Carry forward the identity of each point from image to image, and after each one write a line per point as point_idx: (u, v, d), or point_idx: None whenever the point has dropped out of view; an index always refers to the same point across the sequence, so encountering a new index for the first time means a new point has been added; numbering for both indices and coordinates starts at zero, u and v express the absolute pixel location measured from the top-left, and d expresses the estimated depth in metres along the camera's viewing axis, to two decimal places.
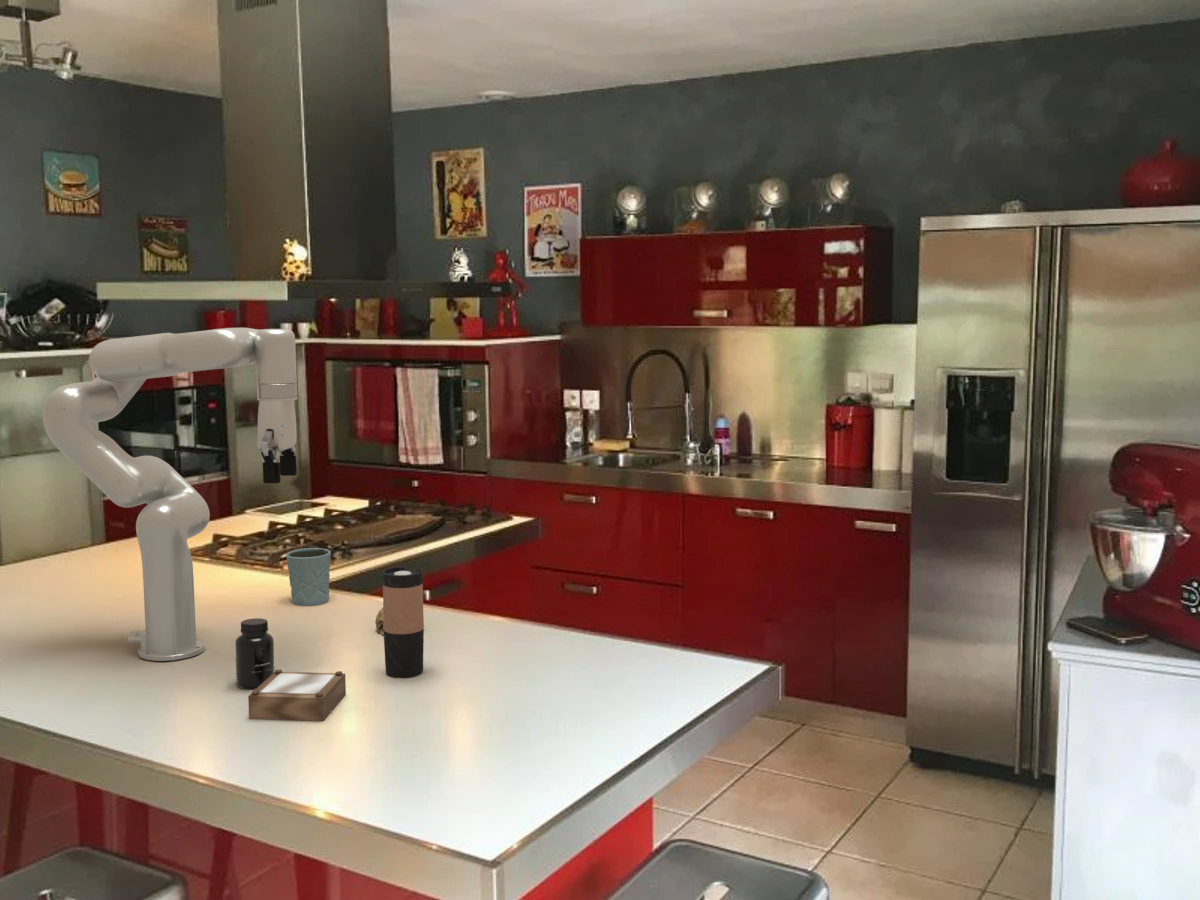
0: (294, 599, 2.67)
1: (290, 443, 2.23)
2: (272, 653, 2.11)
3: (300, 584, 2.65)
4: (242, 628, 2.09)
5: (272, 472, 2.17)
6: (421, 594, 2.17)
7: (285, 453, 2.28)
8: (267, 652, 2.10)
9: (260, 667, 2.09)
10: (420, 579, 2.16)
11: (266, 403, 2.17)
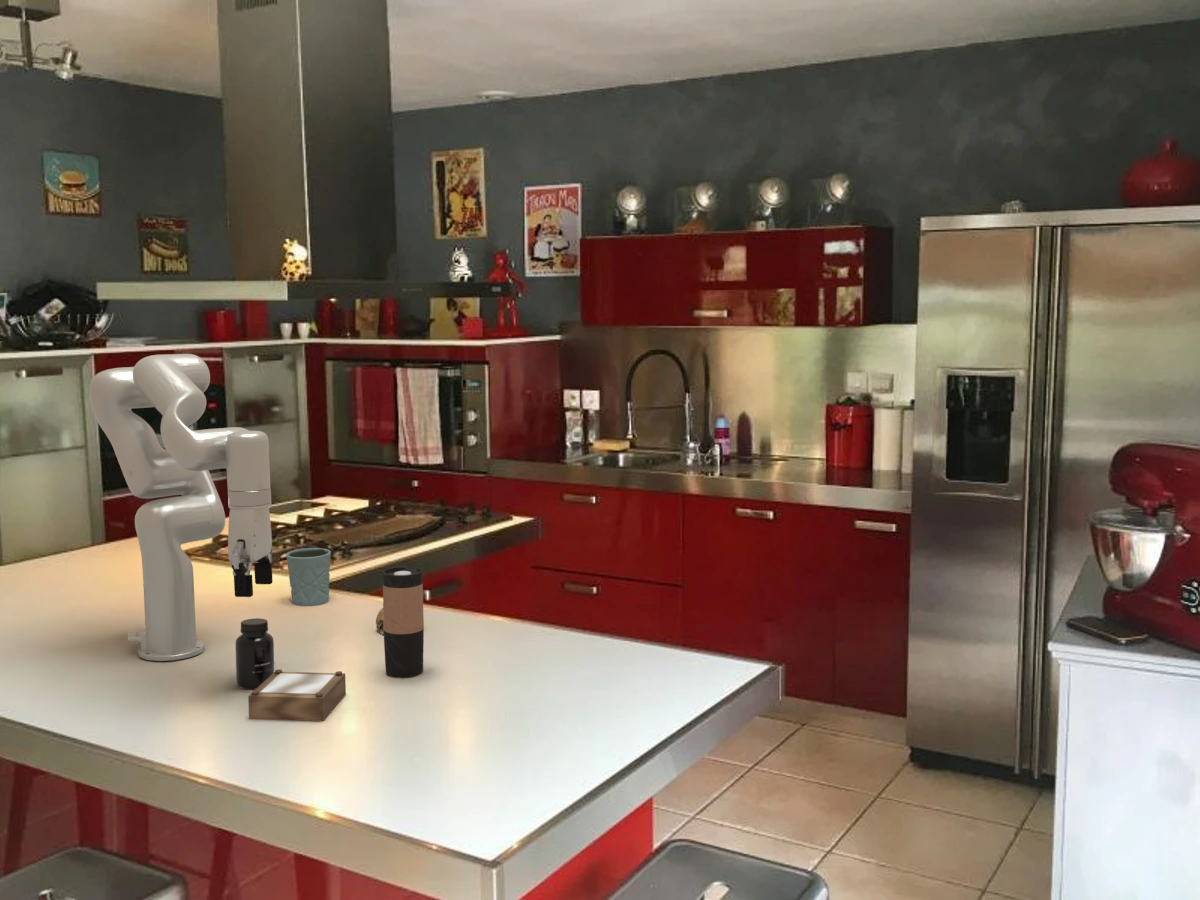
0: (294, 599, 2.67)
1: (264, 552, 2.09)
2: (272, 653, 2.11)
3: (300, 584, 2.65)
4: (242, 628, 2.09)
5: (244, 585, 2.04)
6: (421, 594, 2.17)
7: (260, 560, 2.14)
8: (267, 652, 2.10)
9: (260, 667, 2.09)
10: (420, 579, 2.16)
11: (237, 512, 2.03)
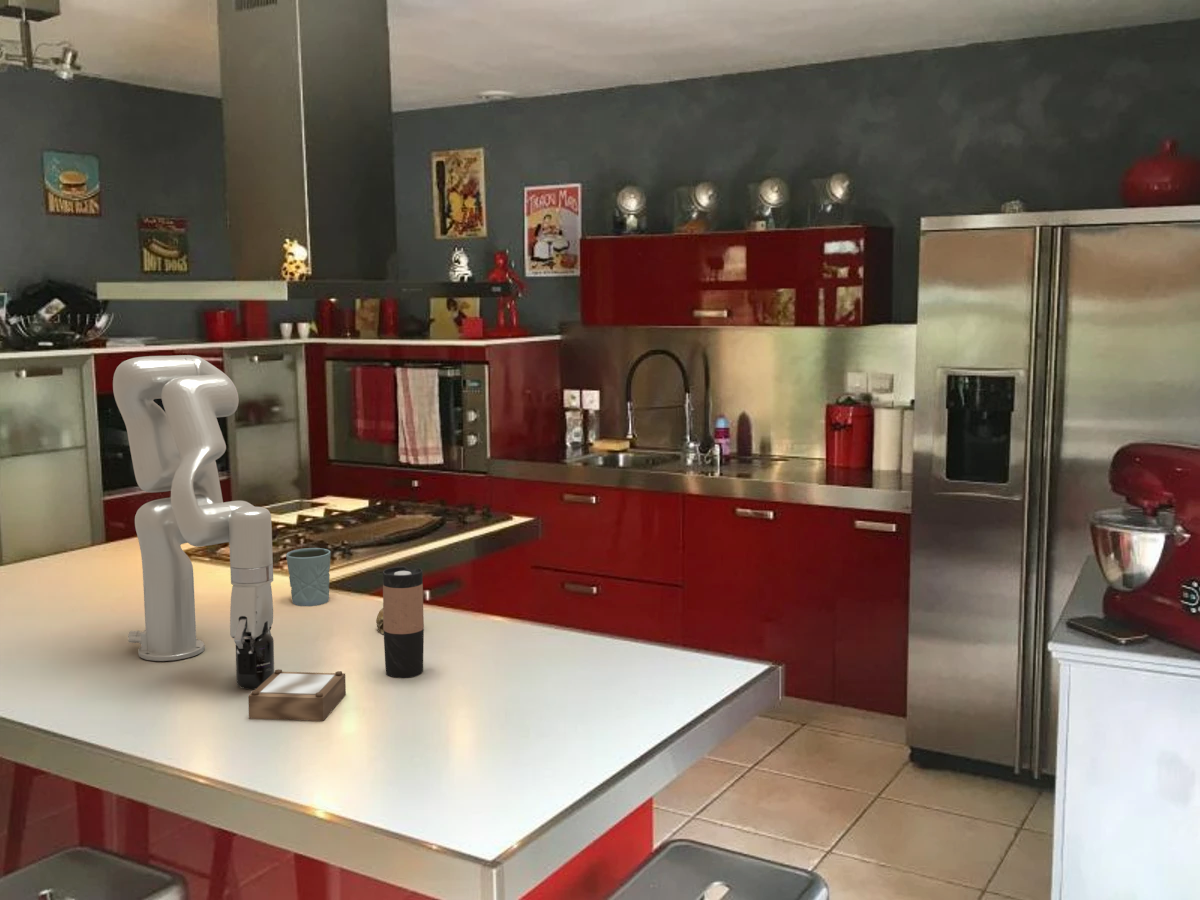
0: (294, 599, 2.67)
1: None
2: (272, 653, 2.11)
3: (300, 584, 2.65)
4: None
5: (247, 664, 2.07)
6: (421, 594, 2.17)
7: None
8: (267, 652, 2.10)
9: (260, 667, 2.09)
10: (420, 579, 2.16)
11: (239, 589, 2.05)
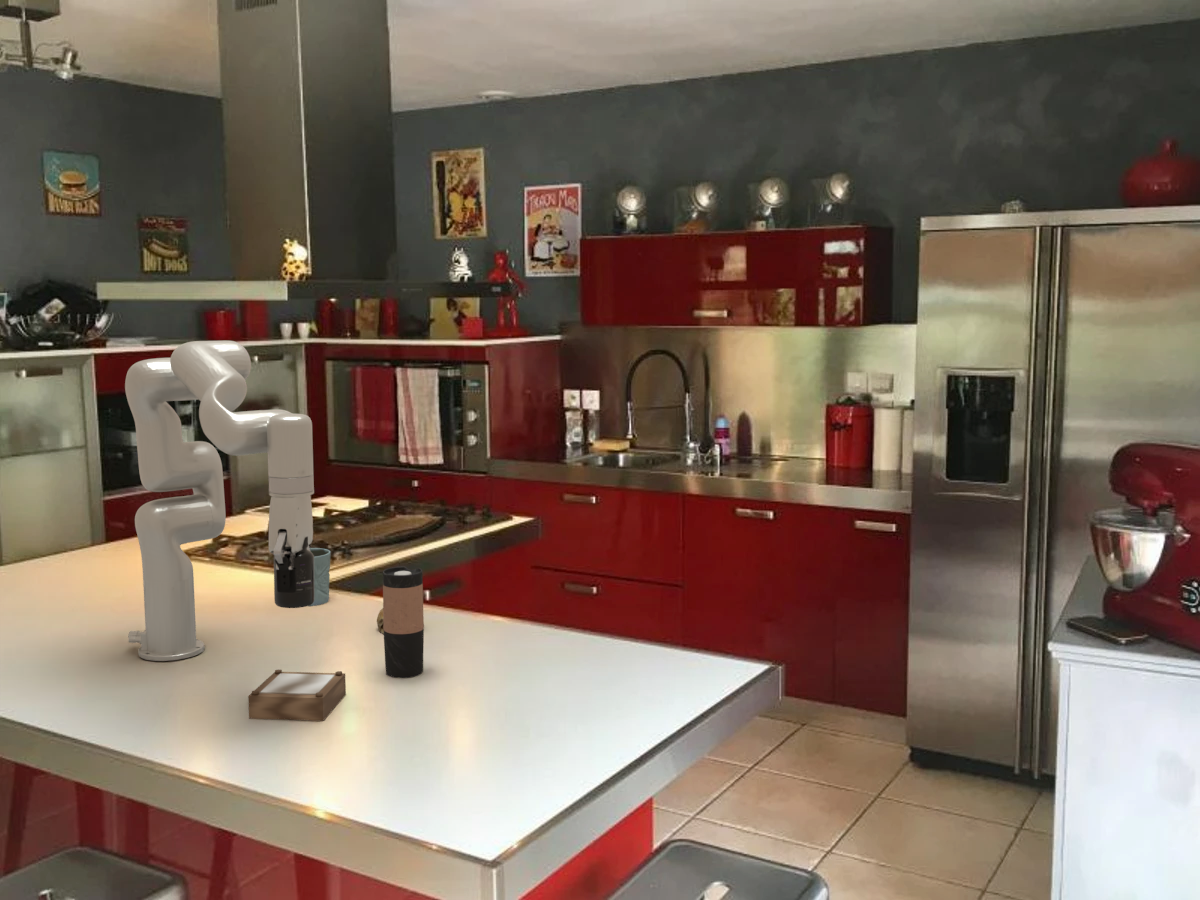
0: None
1: None
2: (313, 571, 1.97)
3: None
4: None
5: (287, 580, 1.93)
6: (421, 594, 2.17)
7: None
8: (308, 569, 1.96)
9: (300, 584, 1.95)
10: (420, 579, 2.16)
11: (278, 499, 1.91)
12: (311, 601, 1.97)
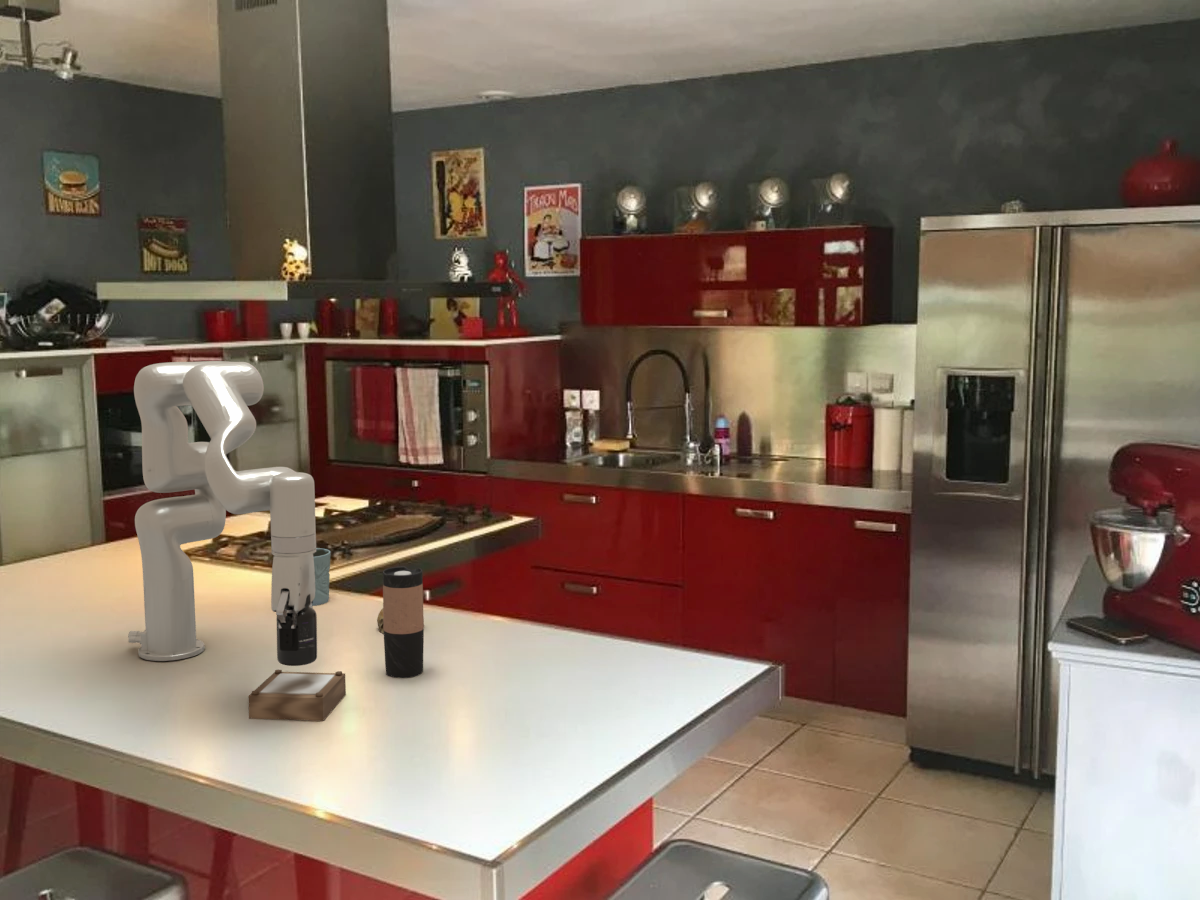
0: None
1: None
2: (315, 628, 1.98)
3: None
4: None
5: (290, 639, 1.94)
6: (421, 594, 2.17)
7: None
8: (310, 627, 1.97)
9: (302, 642, 1.96)
10: (420, 579, 2.16)
11: (281, 559, 1.93)
12: (314, 658, 1.98)
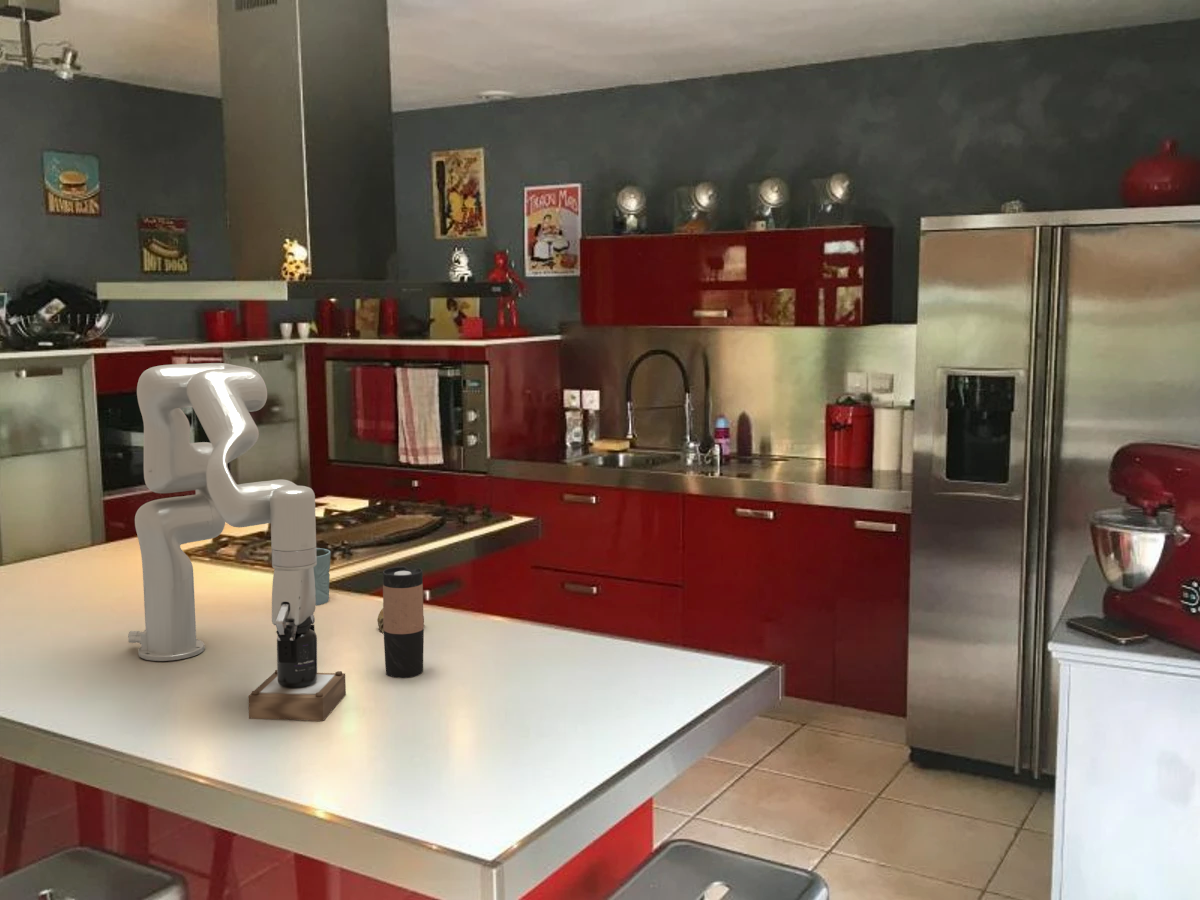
0: None
1: (308, 614, 1.98)
2: (315, 650, 1.99)
3: None
4: None
5: (288, 651, 1.94)
6: (421, 594, 2.17)
7: None
8: (310, 649, 1.98)
9: (303, 665, 1.97)
10: (420, 579, 2.16)
11: (281, 573, 1.93)
12: (314, 680, 1.99)
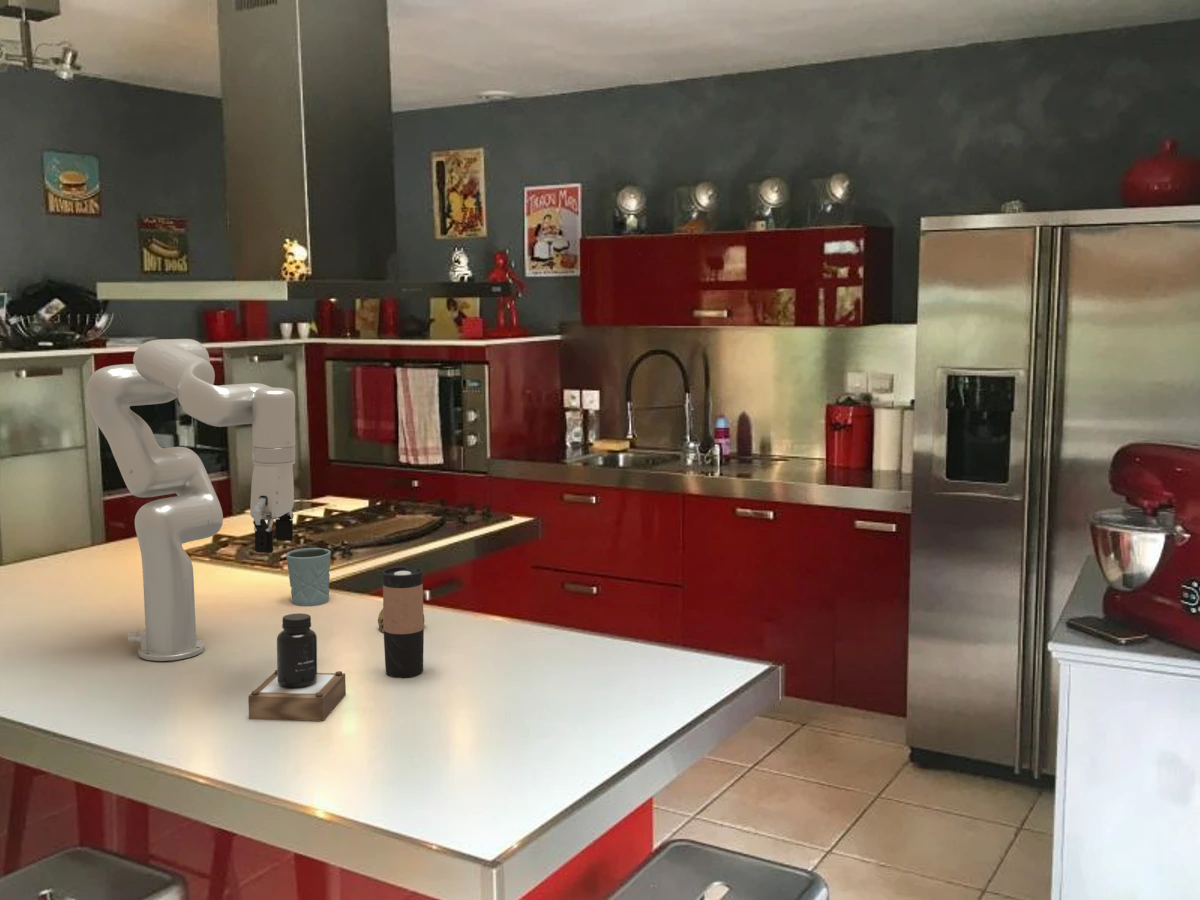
0: (294, 599, 2.67)
1: (285, 510, 2.10)
2: (315, 650, 1.99)
3: (300, 584, 2.65)
4: (284, 624, 1.97)
5: (264, 541, 2.05)
6: (421, 594, 2.17)
7: (281, 517, 2.15)
8: (310, 649, 1.98)
9: (303, 665, 1.97)
10: (420, 579, 2.16)
11: (260, 468, 2.04)
12: (314, 680, 1.99)
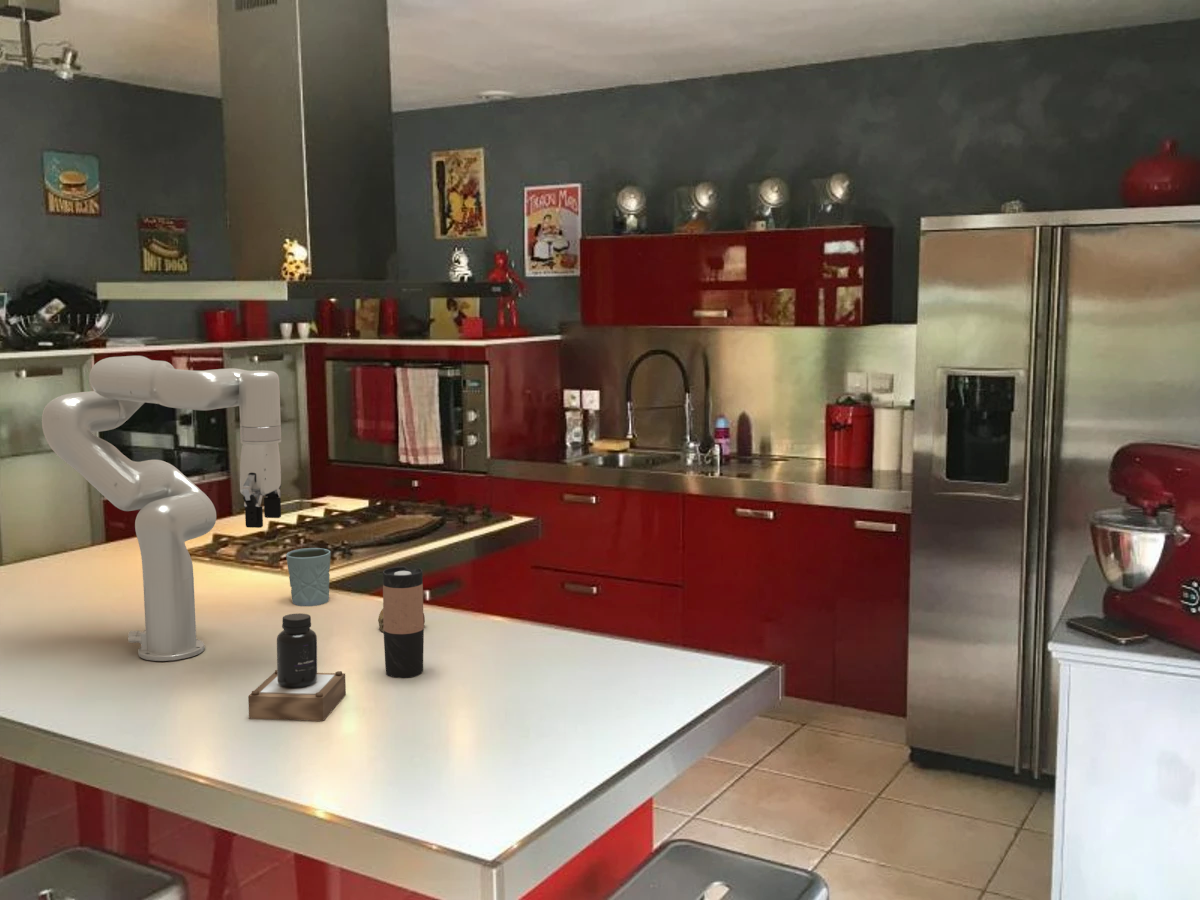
0: (294, 599, 2.67)
1: (273, 487, 2.20)
2: (315, 650, 1.99)
3: (300, 584, 2.65)
4: (284, 624, 1.97)
5: (254, 516, 2.15)
6: (421, 594, 2.17)
7: (269, 495, 2.25)
8: (310, 649, 1.98)
9: (303, 665, 1.97)
10: (420, 579, 2.16)
11: (248, 446, 2.14)
12: (314, 680, 1.99)
